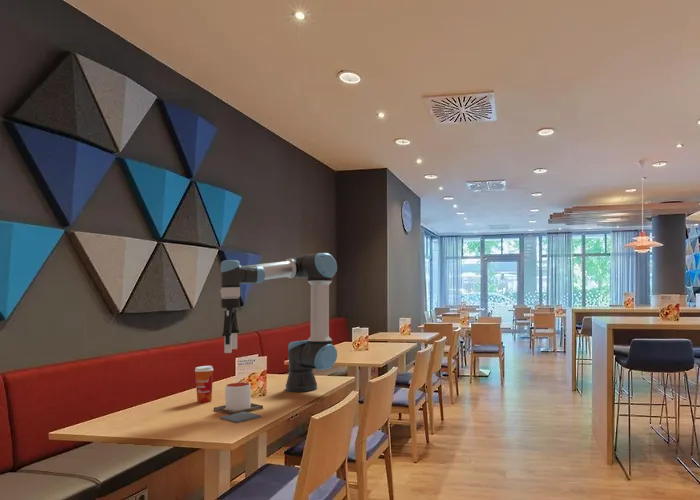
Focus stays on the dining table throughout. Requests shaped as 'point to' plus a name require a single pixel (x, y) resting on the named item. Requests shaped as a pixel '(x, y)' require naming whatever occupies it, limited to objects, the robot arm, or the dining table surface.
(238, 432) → the dining table surface
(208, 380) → the coffee cup
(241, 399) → the cup
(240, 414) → the coaster
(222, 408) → the frame
